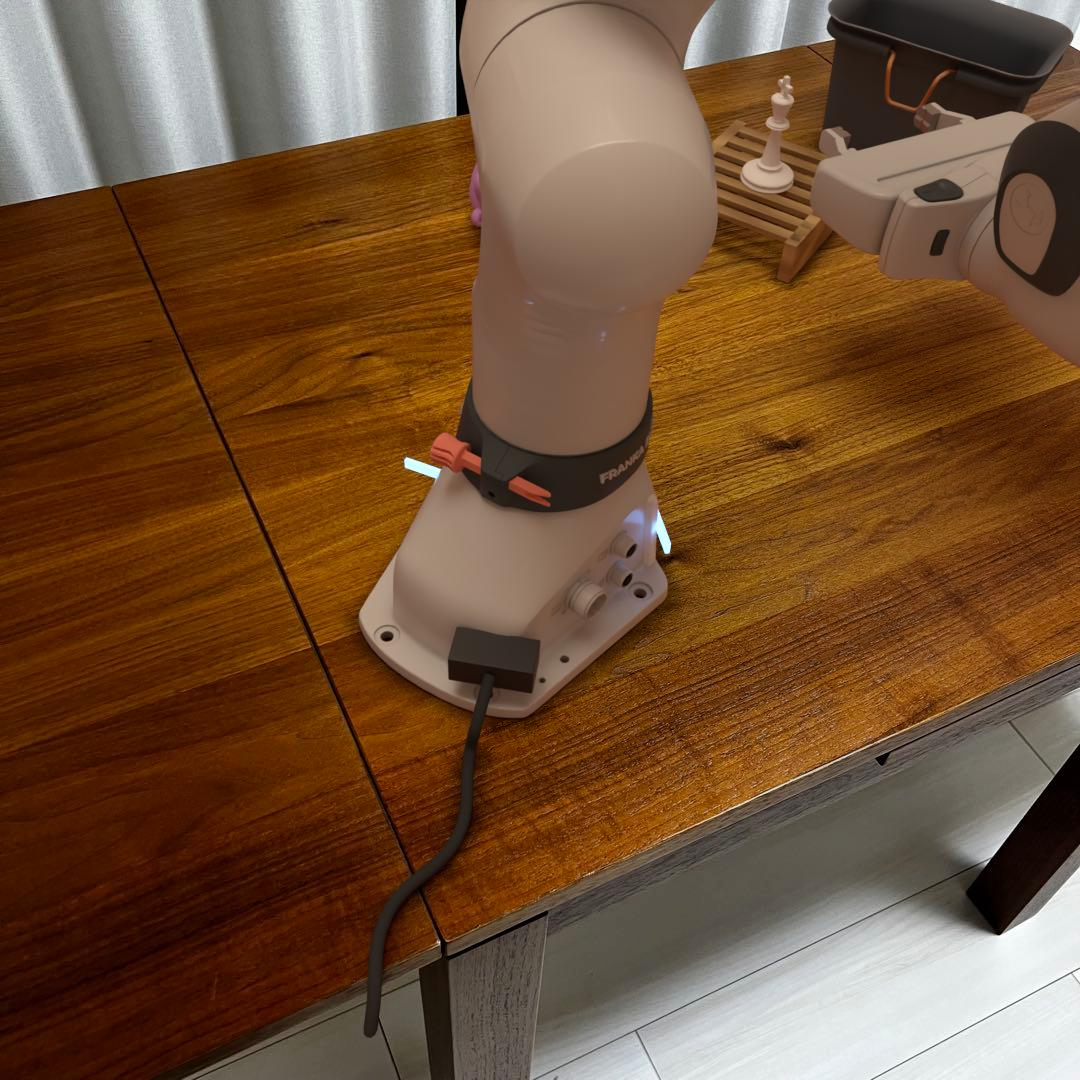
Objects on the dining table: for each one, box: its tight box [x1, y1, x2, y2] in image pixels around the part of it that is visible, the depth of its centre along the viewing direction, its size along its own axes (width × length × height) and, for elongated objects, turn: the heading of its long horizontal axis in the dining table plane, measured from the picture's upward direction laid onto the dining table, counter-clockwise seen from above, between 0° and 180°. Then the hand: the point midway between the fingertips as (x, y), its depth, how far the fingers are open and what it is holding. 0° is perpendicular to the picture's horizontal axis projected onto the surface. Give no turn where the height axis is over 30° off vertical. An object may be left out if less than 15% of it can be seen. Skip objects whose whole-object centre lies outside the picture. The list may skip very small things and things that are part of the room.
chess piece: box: [740, 75, 795, 194], centre depth 107 cm, size 5×5×10 cm
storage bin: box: [821, 0, 1075, 151], centre depth 116 cm, size 21×16×14 cm
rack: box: [712, 119, 834, 284], centre depth 112 cm, size 16×14×4 cm
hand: (875, 124), depth 95 cm, fingers open, 8 cm apart
